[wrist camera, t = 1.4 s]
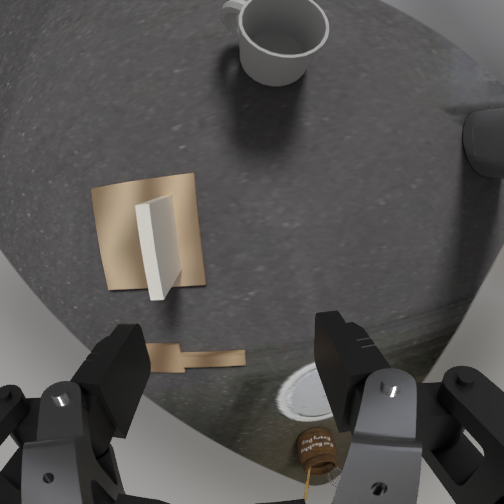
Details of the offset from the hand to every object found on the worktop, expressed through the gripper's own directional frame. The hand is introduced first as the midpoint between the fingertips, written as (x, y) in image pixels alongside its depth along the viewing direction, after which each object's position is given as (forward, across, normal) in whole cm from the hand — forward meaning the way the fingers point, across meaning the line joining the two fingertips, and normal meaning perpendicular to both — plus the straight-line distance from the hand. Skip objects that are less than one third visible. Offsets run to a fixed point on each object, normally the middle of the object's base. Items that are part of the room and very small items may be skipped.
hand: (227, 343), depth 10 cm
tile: (+21, +7, 0) cm, 22 cm away
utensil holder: (+22, -9, +35) cm, 42 cm away
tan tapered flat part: (+22, +7, +16) cm, 28 cm away
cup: (+22, -4, -19) cm, 29 cm away
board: (+22, +10, 0) cm, 24 cm away
